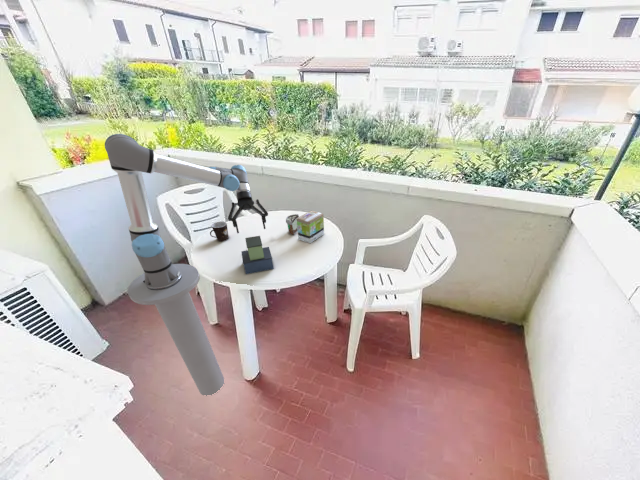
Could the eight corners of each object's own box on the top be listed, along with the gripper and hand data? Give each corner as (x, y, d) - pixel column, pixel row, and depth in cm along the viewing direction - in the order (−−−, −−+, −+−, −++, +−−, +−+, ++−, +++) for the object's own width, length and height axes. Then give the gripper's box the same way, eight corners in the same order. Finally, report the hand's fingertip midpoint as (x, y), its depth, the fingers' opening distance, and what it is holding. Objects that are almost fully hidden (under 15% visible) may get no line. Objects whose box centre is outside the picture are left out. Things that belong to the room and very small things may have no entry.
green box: (249, 260, 143) (246, 247, 139) (248, 251, 151) (245, 237, 147) (264, 258, 146) (262, 244, 141) (262, 248, 154) (259, 235, 149)
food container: (291, 226, 192) (289, 213, 186) (300, 227, 191) (298, 214, 185) (284, 235, 182) (282, 220, 176) (293, 236, 181) (291, 221, 175)
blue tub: (245, 274, 145) (242, 263, 141) (244, 262, 155) (241, 251, 151) (274, 268, 150) (272, 257, 146) (270, 257, 159) (268, 246, 155)
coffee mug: (227, 234, 181) (223, 220, 176) (232, 239, 176) (229, 224, 171) (208, 240, 175) (204, 225, 169) (213, 245, 170) (209, 230, 164)
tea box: (310, 243, 173) (309, 221, 164) (297, 239, 177) (295, 218, 168) (324, 234, 184) (323, 213, 175) (312, 230, 188) (310, 209, 179)
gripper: (267, 193, 159) (275, 229, 156) (219, 199, 151) (227, 236, 148) (267, 187, 152) (275, 224, 149) (217, 193, 144) (225, 231, 141)
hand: (251, 230), depth 149 cm, fingers open, 13 cm apart
